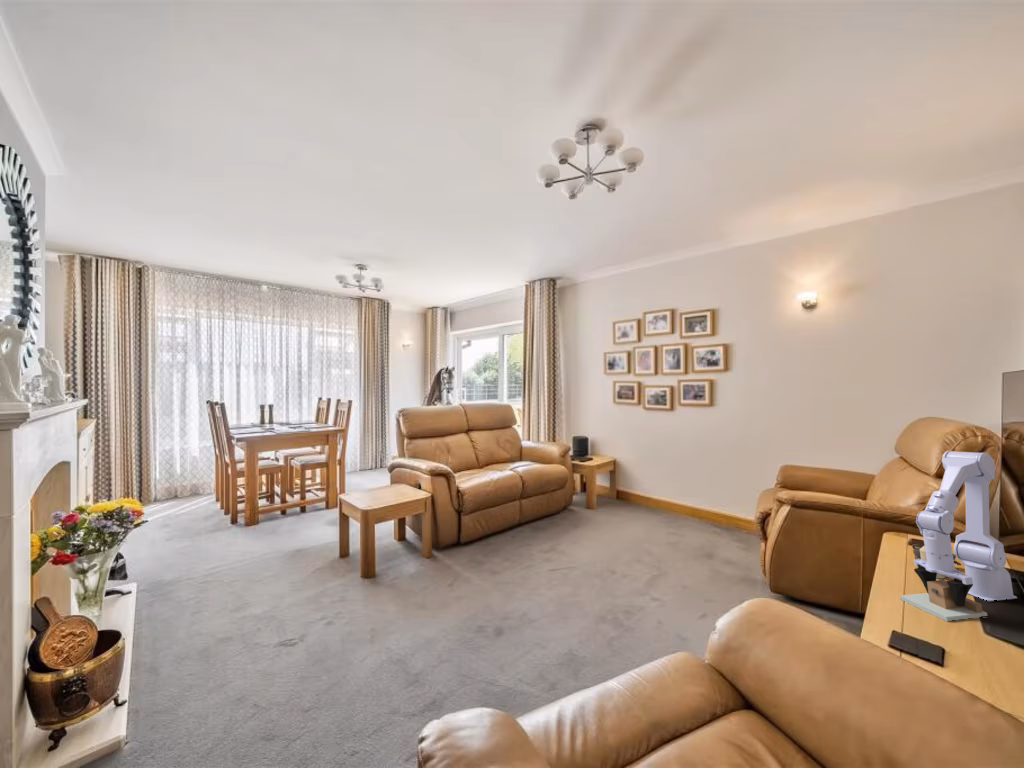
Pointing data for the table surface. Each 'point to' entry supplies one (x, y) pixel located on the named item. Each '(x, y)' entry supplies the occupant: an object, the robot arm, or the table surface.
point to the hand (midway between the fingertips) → (945, 599)
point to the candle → (923, 557)
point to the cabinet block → (941, 594)
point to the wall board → (923, 602)
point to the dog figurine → (917, 556)
